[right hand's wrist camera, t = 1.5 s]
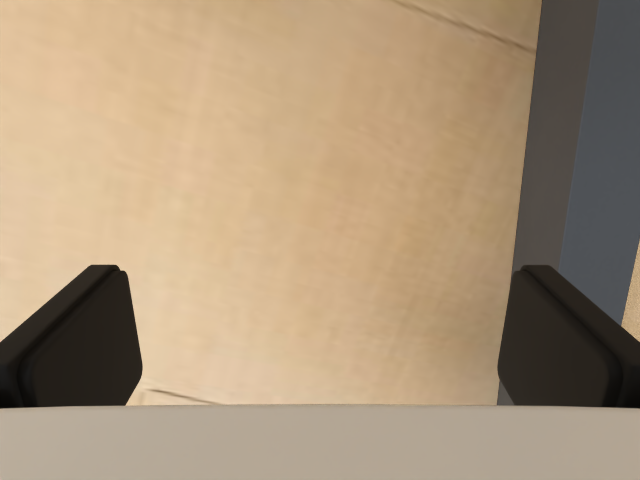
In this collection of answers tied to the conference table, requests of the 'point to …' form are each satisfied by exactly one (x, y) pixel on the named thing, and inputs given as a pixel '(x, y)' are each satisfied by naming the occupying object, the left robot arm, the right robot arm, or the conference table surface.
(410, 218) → the conference table surface
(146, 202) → the conference table surface
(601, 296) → the bar
